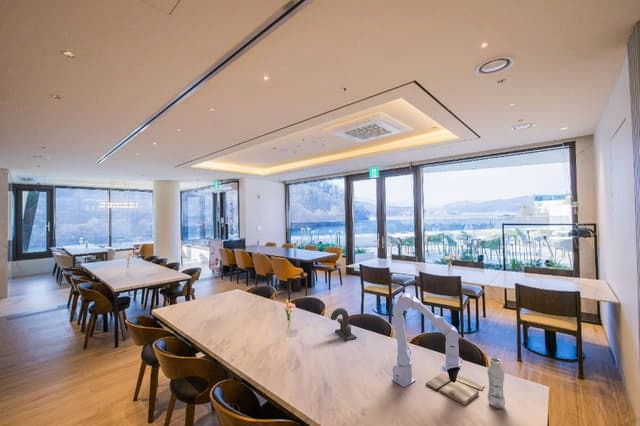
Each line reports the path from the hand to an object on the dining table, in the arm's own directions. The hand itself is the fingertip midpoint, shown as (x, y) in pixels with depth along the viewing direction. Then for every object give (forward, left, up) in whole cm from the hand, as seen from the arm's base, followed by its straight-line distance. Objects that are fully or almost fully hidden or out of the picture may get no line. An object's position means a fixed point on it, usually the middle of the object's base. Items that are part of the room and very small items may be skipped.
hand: (452, 381), depth 131 cm
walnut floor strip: (0, +7, -4) cm, 8 cm away
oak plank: (0, -3, -4) cm, 5 cm away
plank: (+12, -2, -5) cm, 13 cm away
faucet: (-5, +79, -4) cm, 79 cm away
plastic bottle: (+5, -17, -4) cm, 18 cm away
